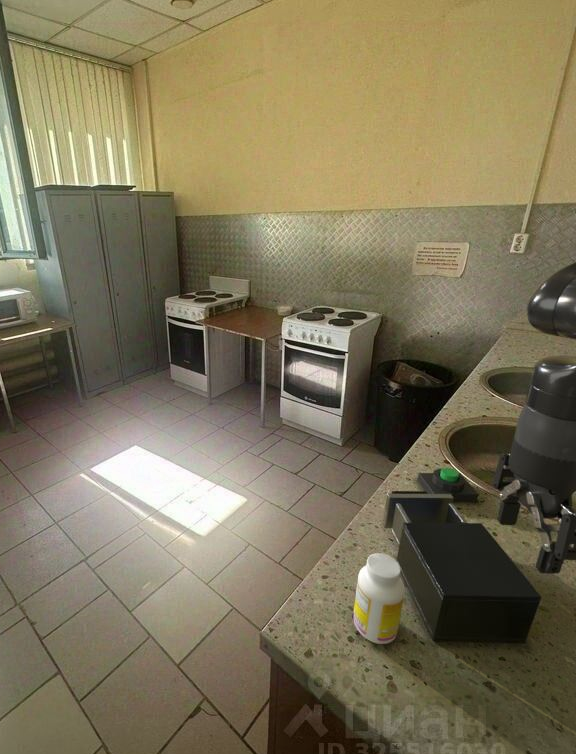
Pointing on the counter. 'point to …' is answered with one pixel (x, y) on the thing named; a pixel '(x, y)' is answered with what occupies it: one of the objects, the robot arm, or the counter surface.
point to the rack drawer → (418, 510)
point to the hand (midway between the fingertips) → (524, 545)
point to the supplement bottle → (379, 599)
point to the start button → (449, 474)
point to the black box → (465, 584)
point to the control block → (448, 486)
